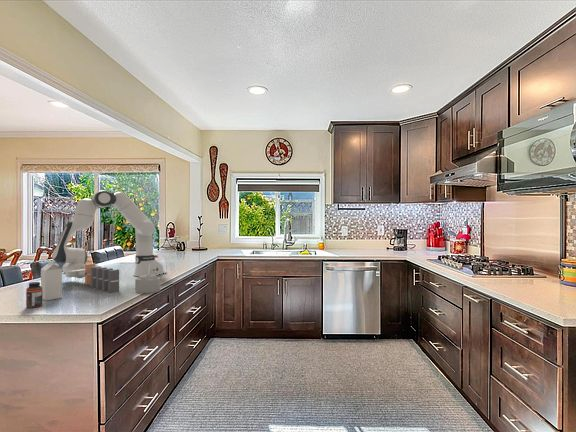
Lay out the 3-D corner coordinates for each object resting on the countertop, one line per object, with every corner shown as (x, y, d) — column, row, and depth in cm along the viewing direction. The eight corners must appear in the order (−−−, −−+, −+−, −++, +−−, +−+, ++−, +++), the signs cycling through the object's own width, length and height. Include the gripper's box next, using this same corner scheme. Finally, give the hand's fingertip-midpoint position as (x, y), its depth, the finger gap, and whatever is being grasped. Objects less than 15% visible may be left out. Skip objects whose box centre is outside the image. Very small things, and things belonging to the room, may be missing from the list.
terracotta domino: (84, 284, 197) (85, 264, 197) (93, 283, 201) (93, 263, 201) (86, 284, 195) (86, 264, 195) (95, 283, 200) (95, 263, 200)
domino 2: (96, 289, 189) (96, 268, 189) (105, 287, 194) (105, 267, 194) (98, 289, 188) (98, 268, 188) (106, 288, 192) (107, 267, 192)
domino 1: (90, 287, 193) (90, 267, 193) (99, 286, 197) (99, 266, 197) (92, 288, 192) (92, 267, 192) (101, 286, 196) (101, 266, 196)
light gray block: (144, 288, 193) (144, 273, 193) (164, 289, 191) (164, 274, 191) (132, 292, 183) (132, 276, 183) (153, 293, 180) (153, 277, 180)
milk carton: (45, 301, 163) (45, 262, 163) (40, 298, 168) (40, 261, 168) (62, 298, 169) (62, 261, 169) (56, 296, 173) (57, 259, 173)
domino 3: (102, 290, 186) (102, 269, 186) (111, 289, 190) (111, 268, 190) (104, 291, 185) (104, 269, 185) (112, 289, 189) (113, 268, 189)
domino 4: (108, 292, 182) (108, 270, 182) (117, 290, 186) (117, 269, 186) (110, 292, 181) (110, 270, 181) (119, 291, 185) (119, 269, 185)
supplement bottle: (23, 307, 152) (24, 282, 152) (39, 304, 157) (39, 280, 157) (29, 309, 149) (29, 284, 149) (44, 306, 154) (44, 282, 154)
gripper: (61, 267, 197) (72, 270, 189) (96, 263, 214) (108, 265, 206) (61, 278, 197) (71, 281, 189) (96, 273, 214) (108, 275, 206)
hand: (91, 273), depth 198 cm, fingers closed on terracotta domino, 5 cm apart
